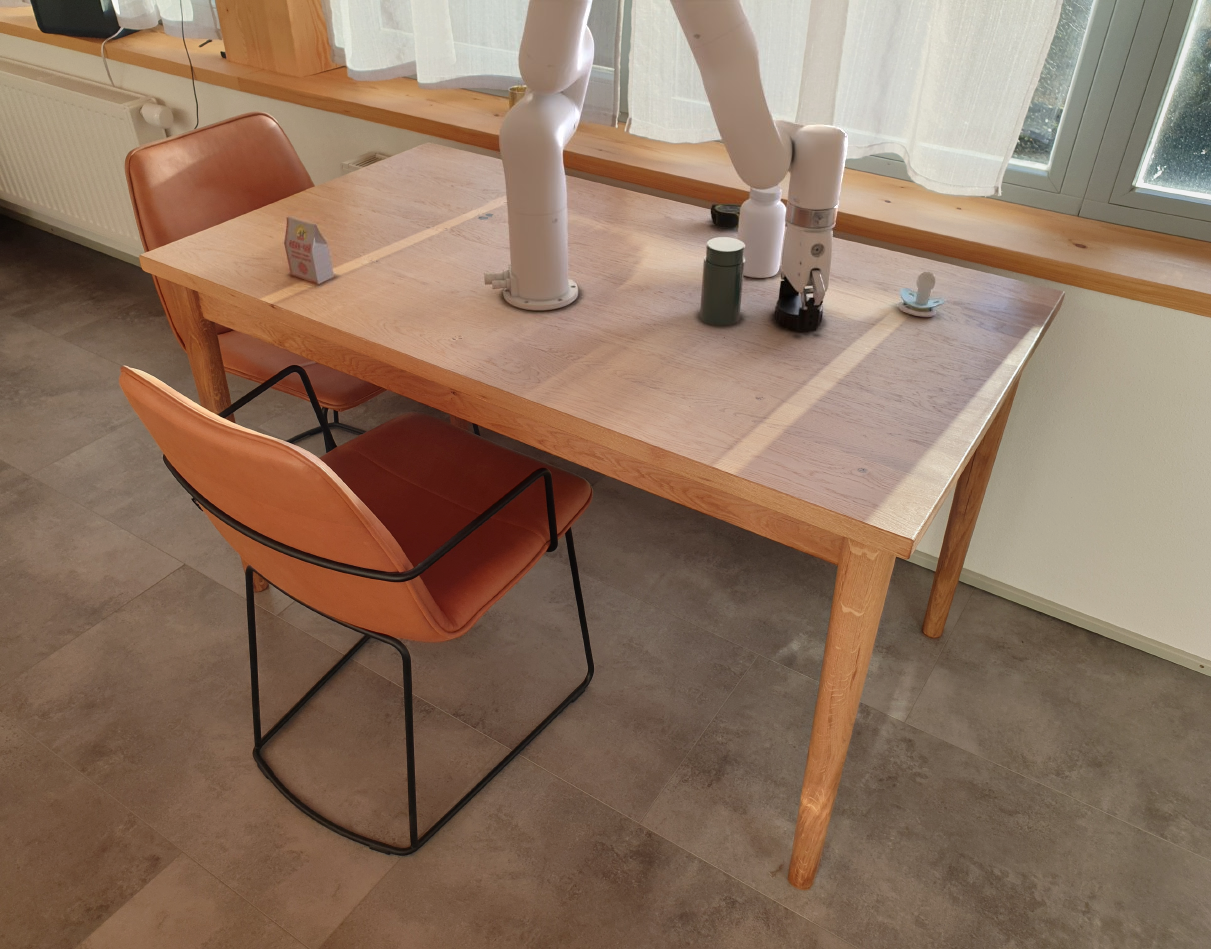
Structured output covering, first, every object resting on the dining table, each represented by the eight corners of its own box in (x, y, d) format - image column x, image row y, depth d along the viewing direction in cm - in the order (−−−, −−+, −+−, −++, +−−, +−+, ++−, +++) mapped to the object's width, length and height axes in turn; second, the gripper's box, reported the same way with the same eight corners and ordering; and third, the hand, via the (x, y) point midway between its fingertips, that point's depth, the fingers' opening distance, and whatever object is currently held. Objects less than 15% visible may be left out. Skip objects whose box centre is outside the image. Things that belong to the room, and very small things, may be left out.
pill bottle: (778, 281, 163) (788, 196, 154) (732, 277, 164) (739, 193, 155) (780, 263, 169) (790, 180, 160) (736, 259, 170) (743, 177, 161)
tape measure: (744, 220, 186) (746, 201, 184) (746, 233, 180) (748, 214, 178) (709, 219, 186) (711, 200, 184) (711, 232, 181) (712, 213, 178)
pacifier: (931, 323, 150) (946, 309, 154) (939, 288, 146) (954, 274, 150) (889, 310, 154) (904, 297, 158) (895, 276, 150) (911, 262, 154)
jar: (704, 327, 149) (710, 253, 141) (695, 309, 154) (700, 237, 146) (743, 324, 149) (751, 251, 142) (733, 307, 155) (740, 235, 147)
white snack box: (306, 267, 166) (295, 213, 161) (334, 276, 164) (323, 221, 158) (290, 275, 164) (279, 220, 158) (318, 284, 161) (307, 228, 155)
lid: (812, 309, 154) (814, 293, 152) (827, 330, 148) (830, 313, 146) (768, 311, 153) (770, 296, 152) (781, 333, 147) (783, 316, 146)
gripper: (855, 234, 134) (837, 340, 144) (816, 192, 147) (802, 292, 158) (805, 236, 133) (790, 343, 143) (770, 194, 147) (759, 294, 157)
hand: (796, 316), depth 150 cm, fingers open, 9 cm apart
